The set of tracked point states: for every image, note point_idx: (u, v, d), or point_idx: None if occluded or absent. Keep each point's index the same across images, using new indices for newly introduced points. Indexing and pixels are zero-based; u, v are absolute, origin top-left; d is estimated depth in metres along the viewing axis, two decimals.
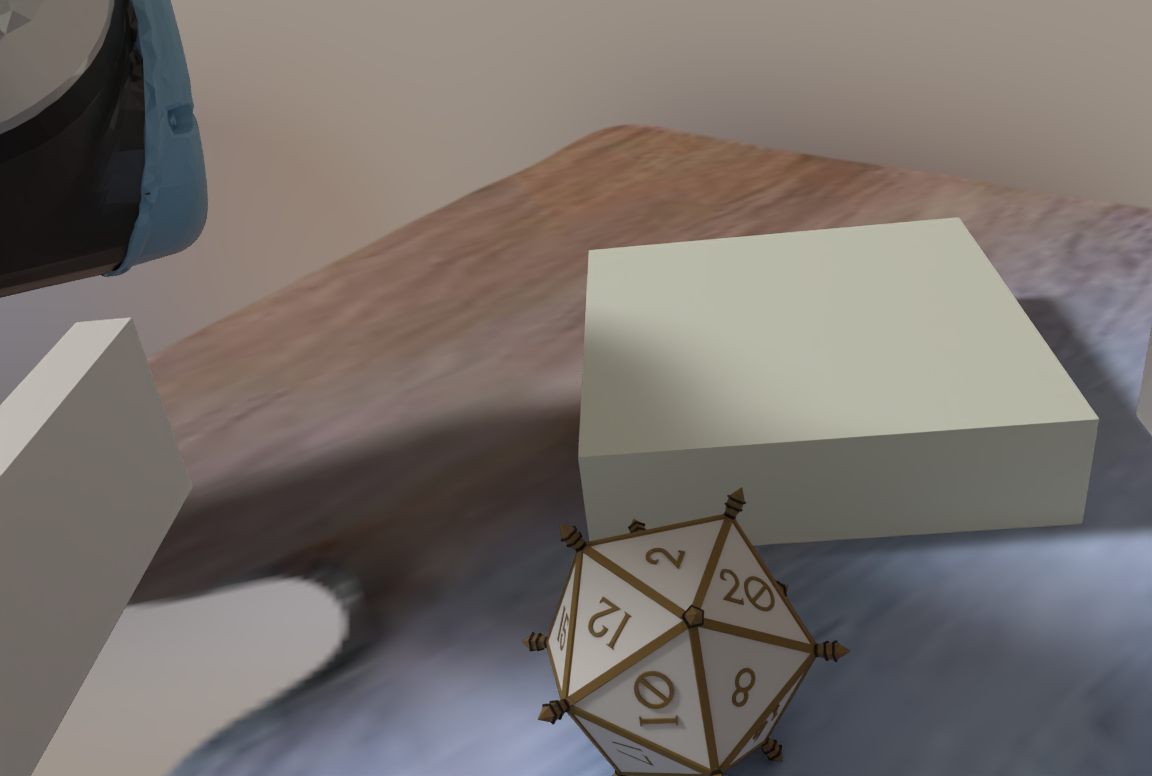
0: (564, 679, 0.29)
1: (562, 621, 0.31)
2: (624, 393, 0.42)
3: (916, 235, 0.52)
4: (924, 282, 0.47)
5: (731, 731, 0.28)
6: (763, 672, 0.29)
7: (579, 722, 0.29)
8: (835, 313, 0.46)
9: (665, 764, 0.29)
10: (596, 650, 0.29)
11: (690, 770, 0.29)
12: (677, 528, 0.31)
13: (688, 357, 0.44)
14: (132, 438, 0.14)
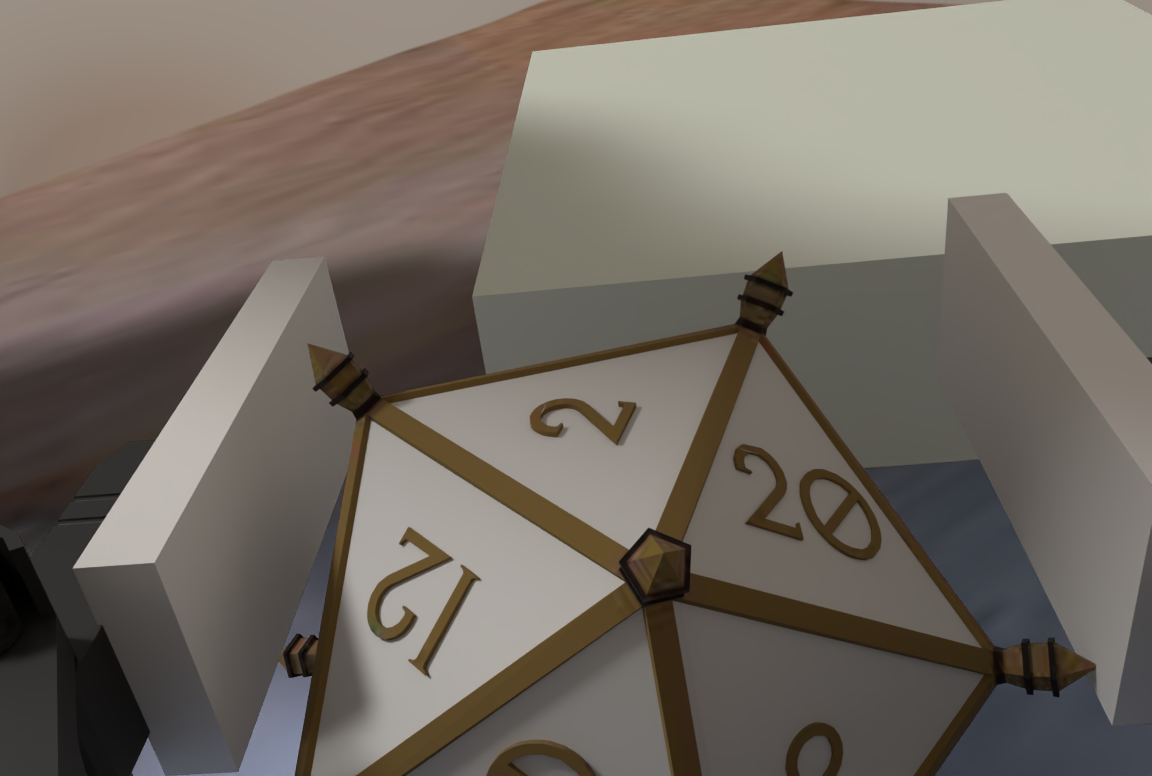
0: (299, 762, 0.10)
1: None
2: (569, 205, 0.24)
3: (1041, 9, 0.33)
4: (1075, 54, 0.29)
5: None
6: (862, 733, 0.10)
7: None
8: (933, 94, 0.27)
9: None
10: (384, 678, 0.10)
11: None
12: (618, 357, 0.12)
13: (684, 155, 0.25)
14: None
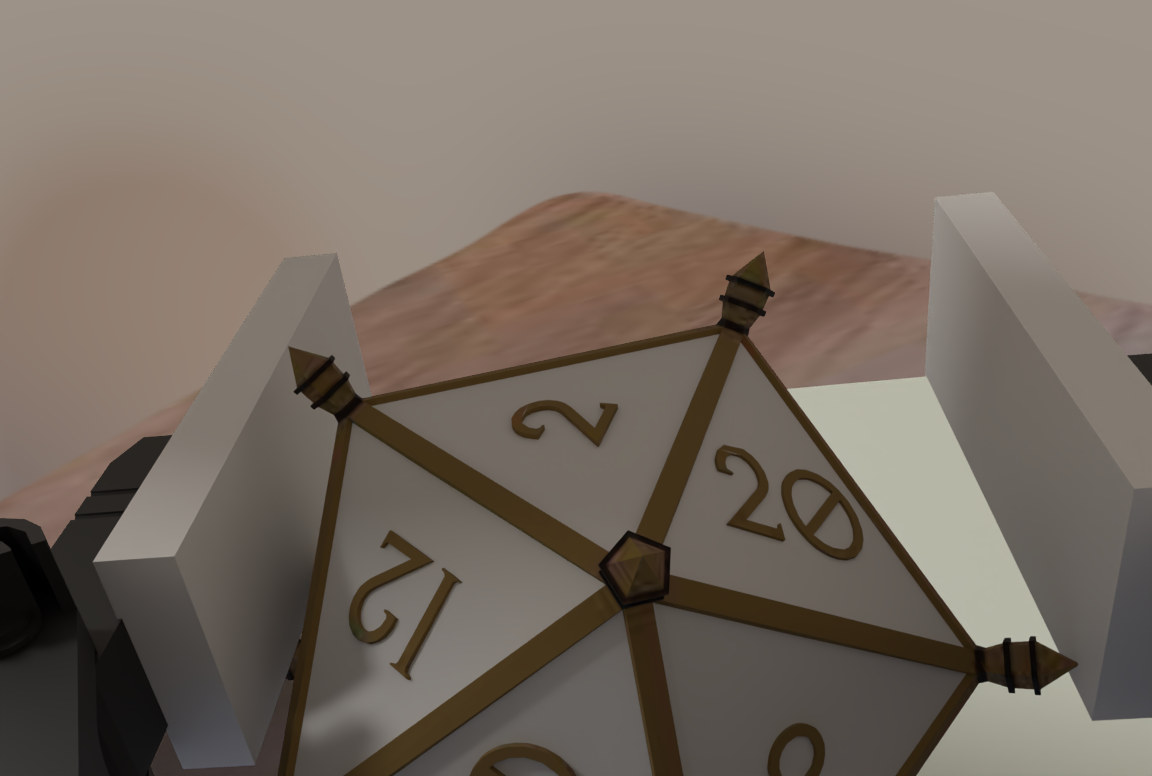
0: (281, 767, 0.10)
1: None
2: None
3: None
4: None
5: None
6: (845, 732, 0.10)
7: None
8: None
9: None
10: (366, 682, 0.10)
11: None
12: (600, 358, 0.12)
13: None
14: (340, 364, 0.15)
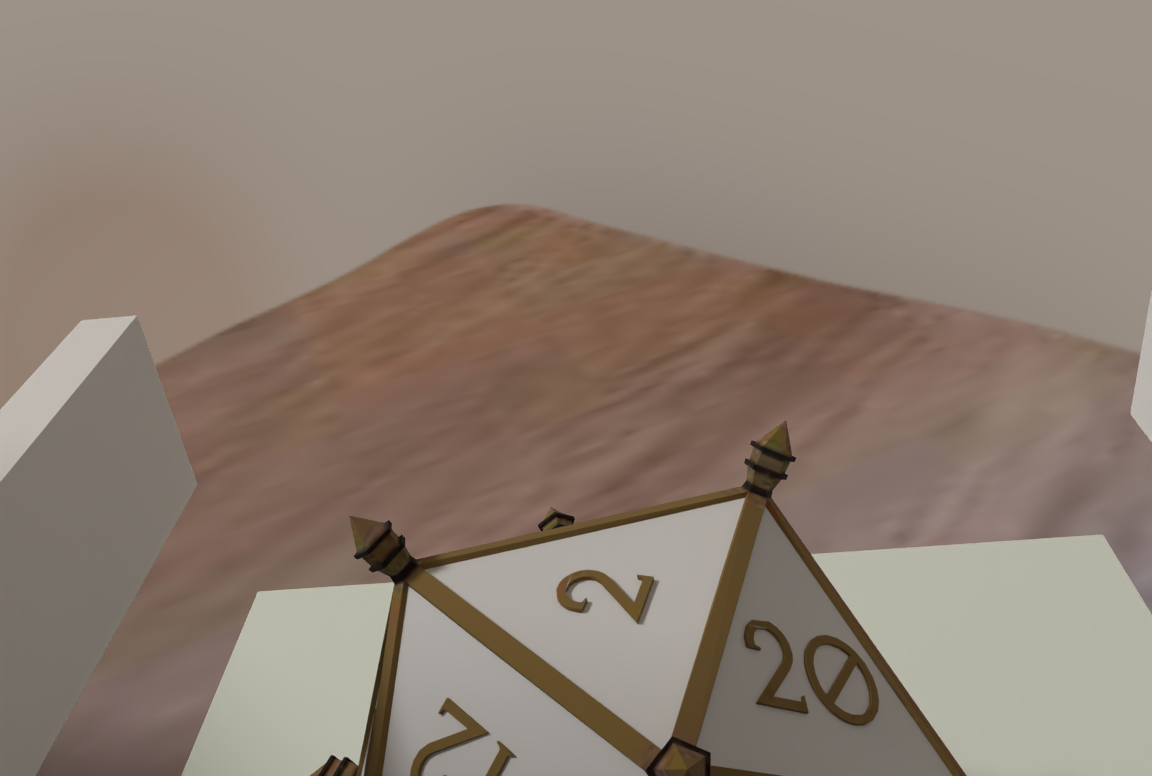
0: None
1: (370, 747, 0.13)
2: None
3: (1007, 595, 0.21)
4: None
5: None
6: None
7: None
8: None
9: None
10: None
11: None
12: (635, 522, 0.13)
13: None
14: (137, 435, 0.14)
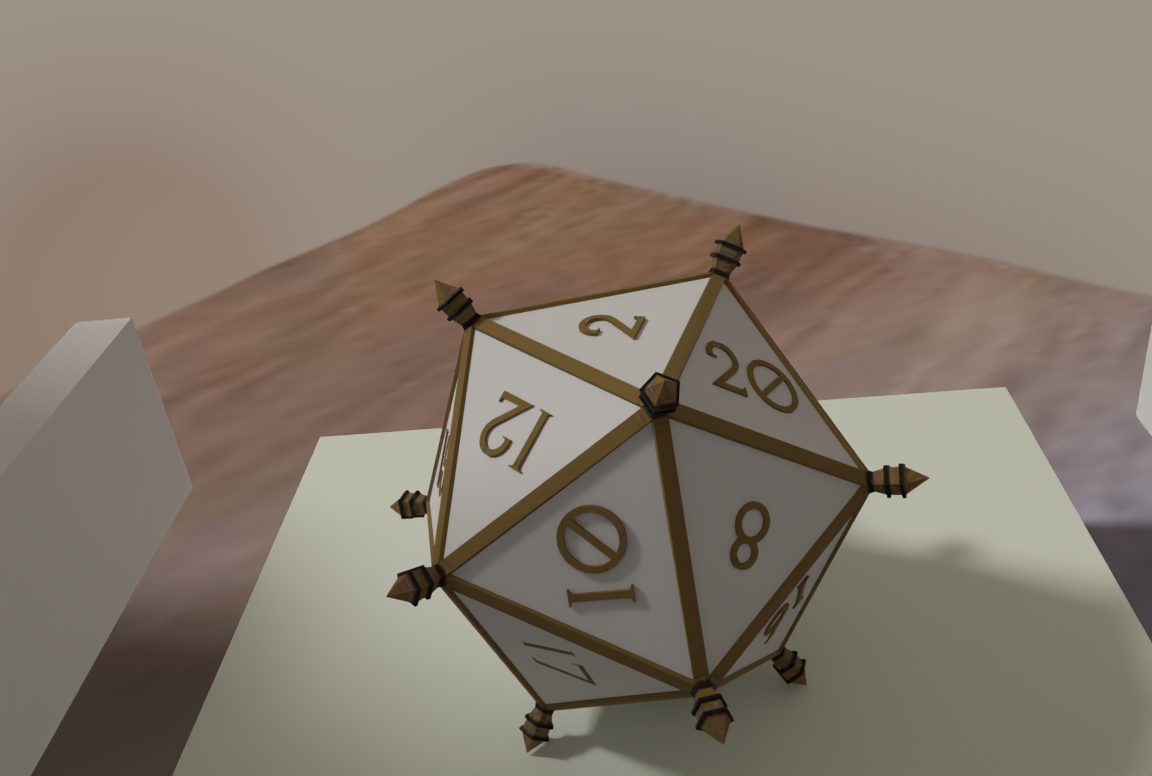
0: (438, 532, 0.17)
1: (444, 453, 0.19)
2: None
3: (923, 428, 0.27)
4: (941, 565, 0.22)
5: (729, 614, 0.16)
6: (782, 511, 0.17)
7: (466, 609, 0.17)
8: None
9: (615, 678, 0.17)
10: (492, 478, 0.17)
11: (658, 685, 0.16)
12: (633, 291, 0.18)
13: None
14: (132, 438, 0.14)
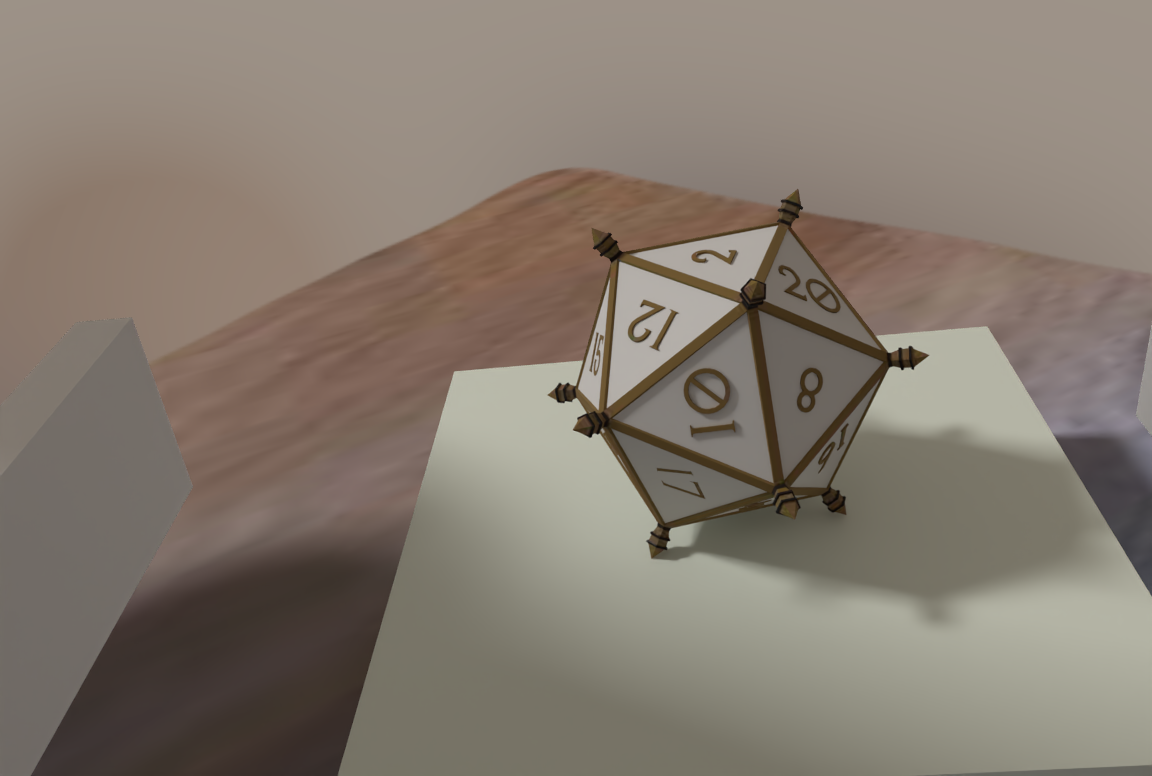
0: (601, 392, 0.25)
1: (595, 348, 0.27)
2: (440, 655, 0.26)
3: None
4: (936, 444, 0.31)
5: (796, 441, 0.25)
6: (831, 376, 0.25)
7: (619, 444, 0.26)
8: None
9: (719, 490, 0.25)
10: (638, 355, 0.25)
11: (749, 491, 0.25)
12: (725, 235, 0.27)
13: (556, 580, 0.28)
14: (132, 438, 0.14)
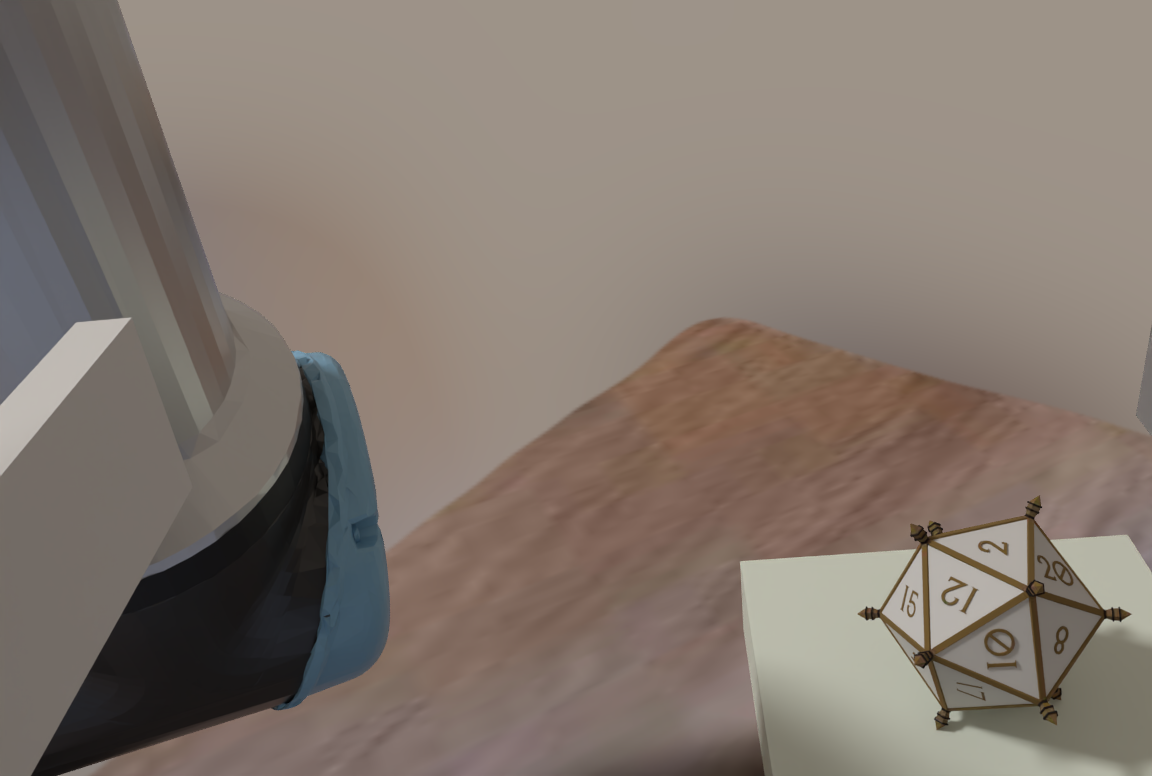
0: (925, 636, 0.40)
1: (906, 596, 0.42)
2: None
3: (1087, 561, 0.50)
4: (1112, 640, 0.46)
5: (1053, 672, 0.39)
6: (1072, 629, 0.40)
7: (934, 668, 0.40)
8: None
9: (998, 698, 0.40)
10: (951, 615, 0.40)
11: (1020, 701, 0.40)
12: (993, 526, 0.42)
13: (880, 745, 0.42)
14: (132, 438, 0.14)
